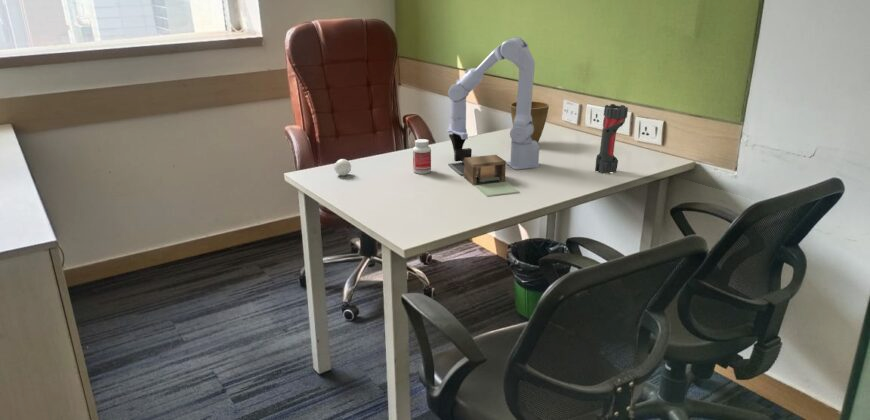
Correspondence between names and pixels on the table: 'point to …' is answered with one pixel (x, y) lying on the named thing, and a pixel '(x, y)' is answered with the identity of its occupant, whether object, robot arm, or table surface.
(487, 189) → the pad
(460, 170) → the grey flat square panel
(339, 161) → the white ball
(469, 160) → the tunnel
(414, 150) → the pill bottle
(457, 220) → the table surface
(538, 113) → the plant pot
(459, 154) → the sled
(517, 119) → the robot arm
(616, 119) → the flashlight
